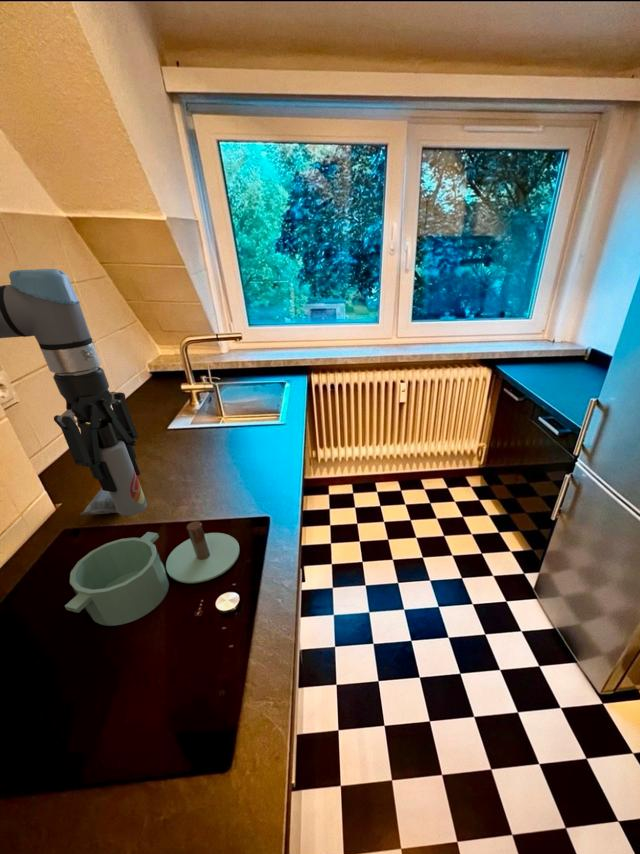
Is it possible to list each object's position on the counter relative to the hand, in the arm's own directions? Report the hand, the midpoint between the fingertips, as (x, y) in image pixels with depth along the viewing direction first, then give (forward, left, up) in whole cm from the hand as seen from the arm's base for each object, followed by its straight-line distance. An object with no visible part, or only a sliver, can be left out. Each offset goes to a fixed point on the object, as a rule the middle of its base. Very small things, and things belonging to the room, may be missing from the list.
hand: (122, 481), depth 79 cm
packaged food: (-17, +8, -15) cm, 24 cm away
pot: (+9, -15, -15) cm, 23 cm away
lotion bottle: (0, 0, -7) cm, 7 cm away
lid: (+17, -3, -15) cm, 23 cm away
